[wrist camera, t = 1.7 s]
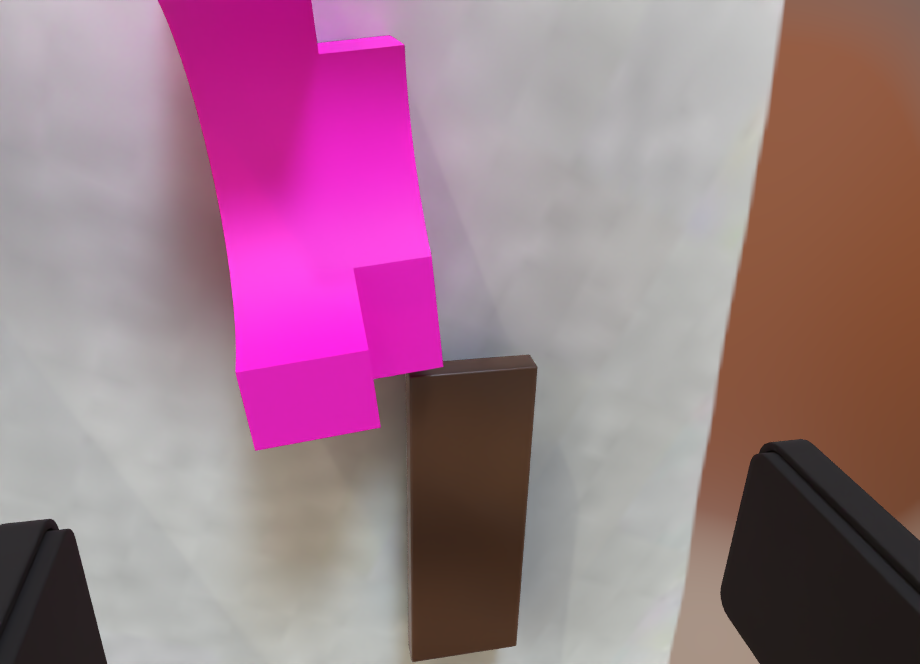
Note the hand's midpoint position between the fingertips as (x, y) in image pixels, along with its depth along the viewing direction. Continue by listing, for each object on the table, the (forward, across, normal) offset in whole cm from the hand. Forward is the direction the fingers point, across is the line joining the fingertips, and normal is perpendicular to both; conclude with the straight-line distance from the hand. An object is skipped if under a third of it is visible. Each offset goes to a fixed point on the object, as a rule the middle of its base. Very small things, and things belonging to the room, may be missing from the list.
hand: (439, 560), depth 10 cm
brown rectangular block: (+19, -4, +14) cm, 24 cm away
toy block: (+19, +1, -2) cm, 19 cm away
